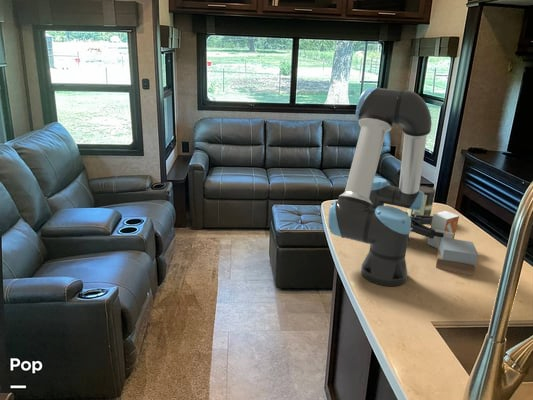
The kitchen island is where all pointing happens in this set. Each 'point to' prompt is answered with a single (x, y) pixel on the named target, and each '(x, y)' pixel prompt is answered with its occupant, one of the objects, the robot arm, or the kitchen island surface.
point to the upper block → (458, 251)
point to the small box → (443, 225)
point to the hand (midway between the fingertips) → (453, 230)
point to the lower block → (454, 266)
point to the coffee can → (424, 202)
